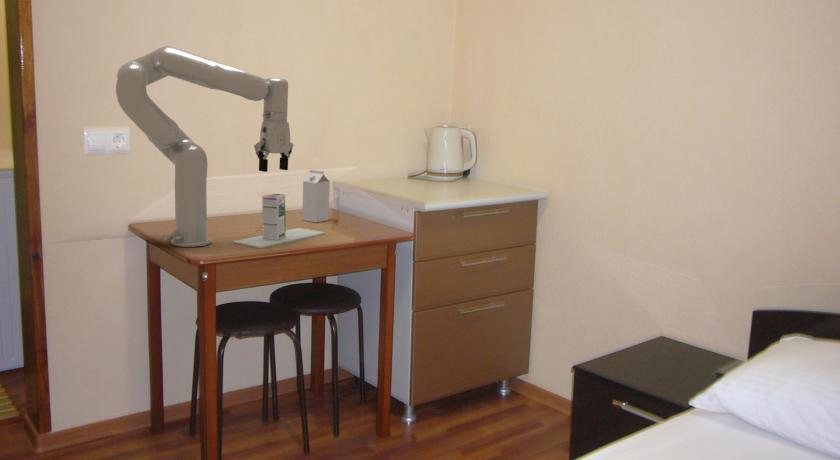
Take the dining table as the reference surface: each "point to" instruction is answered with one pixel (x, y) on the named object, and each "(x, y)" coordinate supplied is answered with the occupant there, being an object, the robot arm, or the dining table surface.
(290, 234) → the mat
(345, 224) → the dining table surface
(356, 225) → the dining table surface
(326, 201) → the milk carton
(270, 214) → the syrup box
